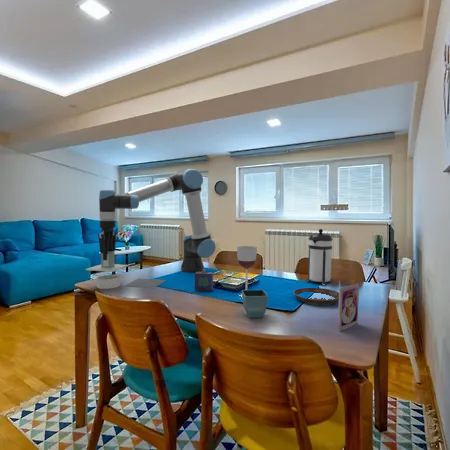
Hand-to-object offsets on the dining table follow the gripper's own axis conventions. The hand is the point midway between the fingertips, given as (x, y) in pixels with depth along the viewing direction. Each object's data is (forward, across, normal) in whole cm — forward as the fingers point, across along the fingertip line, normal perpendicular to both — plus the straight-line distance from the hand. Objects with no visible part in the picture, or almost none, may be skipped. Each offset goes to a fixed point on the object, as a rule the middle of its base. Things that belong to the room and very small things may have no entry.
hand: (108, 265), depth 154 cm
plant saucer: (+11, -1, +104) cm, 105 cm away
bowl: (+11, 0, 0) cm, 11 cm away
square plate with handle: (+1, 0, 0) cm, 1 cm away
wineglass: (+11, +1, +72) cm, 73 cm away
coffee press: (+11, -35, +109) cm, 115 cm away
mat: (+11, -9, +16) cm, 21 cm away
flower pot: (+11, +25, +78) cm, 83 cm away
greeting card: (+11, +27, +110) cm, 113 cm away
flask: (+11, -4, +50) cm, 51 cm away
